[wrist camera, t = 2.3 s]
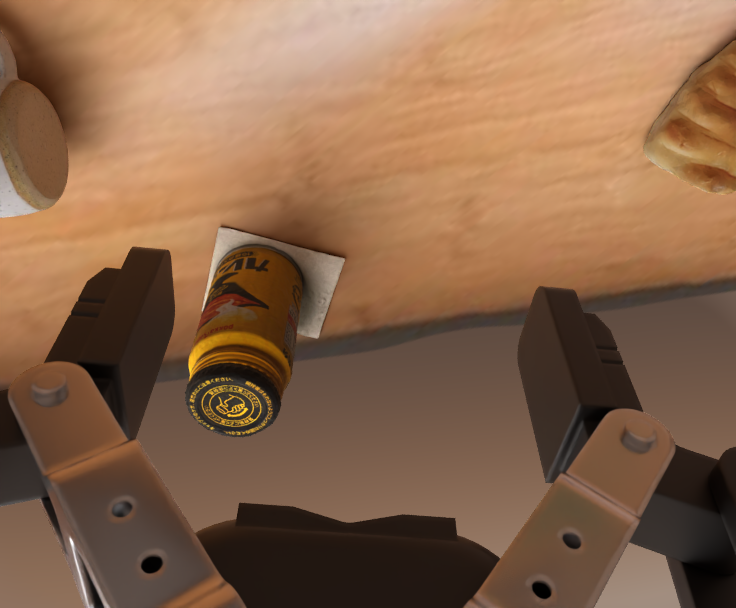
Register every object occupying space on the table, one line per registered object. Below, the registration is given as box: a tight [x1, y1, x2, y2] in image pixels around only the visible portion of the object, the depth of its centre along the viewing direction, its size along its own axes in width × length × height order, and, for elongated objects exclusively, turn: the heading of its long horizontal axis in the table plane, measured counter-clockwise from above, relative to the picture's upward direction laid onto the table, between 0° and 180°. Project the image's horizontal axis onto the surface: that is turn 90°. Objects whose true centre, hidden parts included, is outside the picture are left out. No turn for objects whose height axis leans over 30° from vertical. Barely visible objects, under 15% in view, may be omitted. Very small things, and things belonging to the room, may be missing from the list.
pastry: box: [643, 40, 736, 195], centre depth 38 cm, size 9×7×4 cm
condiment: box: [185, 227, 345, 437], centre depth 43 cm, size 7×8×12 cm
